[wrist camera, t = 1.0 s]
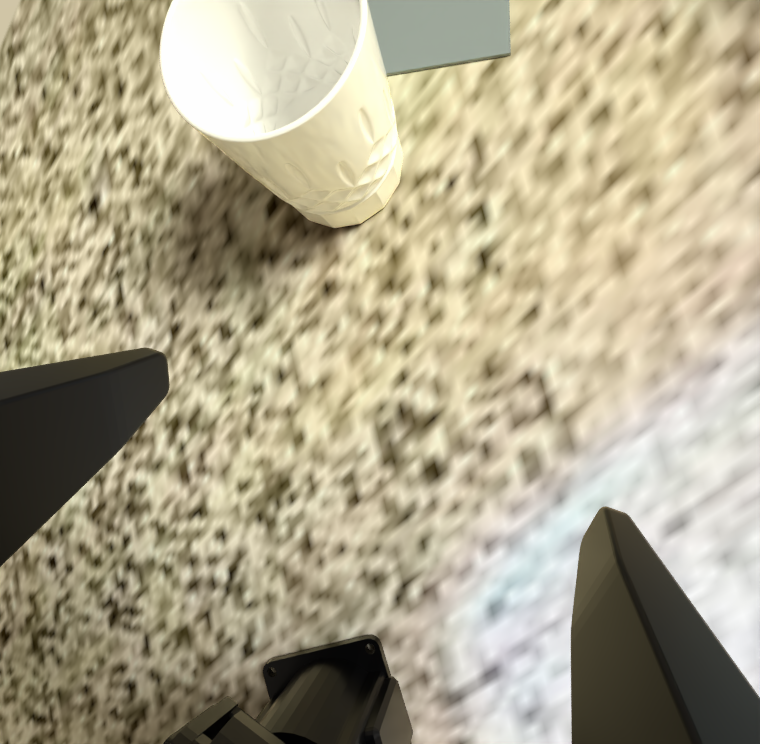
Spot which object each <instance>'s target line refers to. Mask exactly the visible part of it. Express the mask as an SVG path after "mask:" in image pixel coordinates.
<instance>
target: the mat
mask: <svg viewBox="0 0 760 744" xmlns="http://www.w3.org/2000/svg"><path fill="white" fill-rule="evenodd" d="M368 4H369V8H370V12H371V16H372V20H373V24H374V28H375V32H376V36H377V40H378V43H379V47H380V51H381V55H382V59H383V63H384V67H385V70H386V74H387V76H390V75H396V74H402V73H408V72H414V71H420V70H426V69H432V68H438V67H444V66H450V65H456V64H462V63H468V62H474V61H480V60H486V59H492V58H499V57H505V56H510V15H509V0H368Z"/></svg>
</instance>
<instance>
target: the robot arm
mask: <svg viewBox="0 0 760 744" xmlns="http://www.w3.org/2000/svg"><path fill="white" fill-rule="evenodd" d="M168 390H169V374H168V363H167V358H166V356H165V354H163V353H162V352H159V351H156V350H153V349H150V348H140V349H134V350H128V351H122V352H116V353H110V354H104V355H99V356H93V357H87V358H81V359H75V360H69V361H63V362H57V363H51V364H45V365H39V366H33V367H27V368H22V369H16V370H10V371H4V372H0V567H1V566H2V565H3V564H4V563H5V562H6V561H7V560H8V559H9V558H10V557H11V556H12V555H13V554H14V553H15V552H16V551H17V550H18V549H19V548H20V547H21V546H22V545H23V544H24V543H25V542H26V541H27V540H28V539H29V538H30V537H31V536H32V535H33V534H34V533H35V532H37V531H38V530H39V529H40V528H41V527H42V526H43V525H44V524H45V523H46V522H47V521H48V520H49V519H50V518H51V517H52V516H53V515H54V514H55V513H56V512H57V511H58V510H59V509H60V508H61V507H62V506H63V505H64V504H65V503H66V502H67V501H68V500H69V499H70V498H71V497H72V496H73V495H75V494H76V493H77V492H78V491H79V490H80V489H81V488H82V487H83V486H84V485H85V484H86V483H87V482H88V481H89V480H90V479H91V478H92V477H93V476H94V475H95V474H96V473H97V472H98V471H99V470H100V469H101V468H102V467H103V466H104V465H105V464H106V463H107V462H108V461H109V460H110V459H112V458H113V457H114V456H115V455H116V453H117V452H118V451H119V450H120V449H121V448H122V447H123V446H124V445H125V444H126V443H127V442H128V440H129V439H130V438H131V437H132V436H133V435H134V433H135V432H136V431H137V430H138V429H139V427H140V426H141V425H142V424H143V423H144V422H145V420H146V419H147V418H148V417H149V416H150V414H151V413H152V412H153V411H154V410H155V408H156V407H157V406H158V405H159V404H160V403H161V401H162V400H163V399H164V398H165V396H166V395H167V393H168ZM367 644H372V645H373V646H374V647H375V650H370V649H369V648H368V647H367ZM271 667H274V668H275V669H276V673H274V672H272V670H271ZM263 674H264V678H265V682H266V686H267V689H268V693H269V697H270V701H269V702H268V703H267V705H266V706H265V707H264V709H263V710H262V711H261V713H260V714H259V715H258V717H257V718H256V719H255V720H254V719H253V718H252V717H250V716H249V715H248V714H246V713H245V712H244V711H243V710H241V709H240V708H239V707H237V706H238V703H237V702H235V701H234V700H233V699H232V698H230V697H229V696H227V697H226V698H224V699H223V700H222V701H220V702H219V703H217V704H216V705H215V706H214V705H213V706H211V707H210V708H208V709H207V710H206V711H204V712H203V713H202V714H200V715H199V716H197V717H196V718H195V719H193V720H192V721H191V722H189V723H188V724H186V725H185V726H184V727H182V728H181V729H180V730H178V731H177V732H175V733H174V734H173V735H171V736H170V737H169V738H168V739H167V740H166V741H165V742H164V743H163V744H411V738H412V734H413V730H412V727H411V723H410V720H409V717H408V713H407V710H406V707H405V703H404V700H403V697H402V693H401V690H400V687H399V684H398V681H397V680H396V679H395V678H394V677H393V676H392V677H391V674H390V671H389V667H388V664H387V661H386V657H385V654H384V651H383V647H382V644H381V642H380V640H379V638H378V637H377V636H374V635H367V636H362V637H358V638H354V639H350V640H346V641H342V642H338V643H333V644H329V645H325V646H321V647H317V648H313V649H309V650H304V651H300V652H296V653H292V654H288V655H284V656H280V657H276V658H272V659H270V660H269V661H268V662H267V663H266V665H265V666H264V669H263ZM571 709H572V744H760V697H759V696H758V694H757V693H756V692H755V690H754V689H753V688H752V686H751V685H750V683H749V682H748V681H747V679H746V678H745V676H744V675H743V674H742V672H741V671H740V669H739V668H738V667H737V665H736V664H735V662H734V661H733V660H732V658H731V657H730V656H729V654H728V653H727V651H726V650H725V649H724V647H723V646H722V644H721V643H720V642H719V640H718V639H717V637H716V636H715V635H714V633H713V632H712V630H711V629H710V628H709V626H708V625H707V623H706V622H705V621H704V619H703V618H702V617H701V615H700V614H699V612H698V611H697V610H696V608H695V607H694V605H693V604H692V603H691V601H690V600H689V598H688V597H687V596H686V594H685V593H684V591H683V590H682V589H681V587H680V586H679V585H678V583H677V582H676V580H675V579H674V578H673V576H672V575H671V573H670V572H669V571H668V569H667V568H666V566H665V565H664V564H663V562H662V561H661V559H660V558H659V557H658V555H657V554H656V553H655V551H654V550H653V548H652V547H651V546H650V544H649V543H648V541H647V540H646V539H645V537H644V536H643V534H642V533H641V532H640V530H639V529H638V527H637V526H636V525H635V523H634V522H633V520H632V519H631V518H630V517H629V515H627V514H626V513H624V512H621V511H618V510H615V509H612V508H609V507H602V508H601V509H600V510H599V511H598V512H597V514H596V516H595V517H594V519H593V521H592V523H591V524H590V526H589V528H588V530H587V531H586V533H585V535H584V537H583V539H582V542H581V546H580V553H579V561H578V570H577V579H576V588H575V597H574V606H573V614H572V625H571Z"/></svg>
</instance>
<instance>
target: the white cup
mask: <svg viewBox="0 0 760 744" xmlns="http://www.w3.org/2000/svg"><path fill="white" fill-rule="evenodd" d="M160 69H161V75H162V80H163V83H164V87H165V90H166V92H167V94H168V97H169V99H170V101H171V102H172V104H173V106H174V107H175V109H176V110H177V111H178V113H179V114H180V115H181V116H182V117H183V119H184V120H185V121H187V122H188V123H189V124H190V125H191V126H192V127H194V128H195V129H196V130H197V131H198V132H200V133H201V134H202V135H203V136H204V137H206V138H207V139H208V140H209V141H210V142H212V143H213V144H214V145H215V146H216V147H217V148H219V149H220V150H221V151H222V152H223V153H225V154H226V155H227V156H228V157H229V158H230V159H232V160H233V161H234V162H235V163H236V164H238V165H239V166H240V167H241V168H242V169H243V170H245V171H246V172H247V173H248V174H249V175H251V176H252V177H253V178H254V179H256V180H257V181H258V182H260V183H261V184H262V185H264V186H265V187H266V188H267V189H269V190H270V191H271V192H272V193H274V194H275V195H276V196H278V197H279V198H280V199H282V200H284V201H285V202H287V203H289V204H290V205H292V206H293V207H294V208H296V209H297V210H298V211H299V212H300V213H301V214H302V215H303V216H305V217H306V218H307V219H308V220H309V221H312V222H315V223H319V224H322V225H325V226H328V227H332V228H339V227H344V226H350V225H356V224H361V223H362V222H364V221H365V220H367V219H368V218H370V217H371V216H373V215H374V214H376V213H377V212H378V211H380V210H381V209H383V208H384V207H385V206H386V204H387V202H388V201H389V199H390V198H391V196H392V194H393V193H394V191H395V190H396V188H397V186H398V185H399V183H400V176H401V169H402V162H403V151H402V148H401V144H400V141H399V137H398V133H397V128H396V117H395V112H394V106H393V102H392V98H391V93H390V89H389V84H388V79H387V74H386V70H385V67H384V63H383V59H382V55H381V51H380V47H379V43H378V40H377V36H376V32H375V28H374V24H373V20H372V16H371V12H370V8H369V4H368V0H172V3H171V5H170V7H169V10H168V12H167V15H166V18H165V21H164V25H163V29H162V34H161V40H160Z"/></svg>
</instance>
